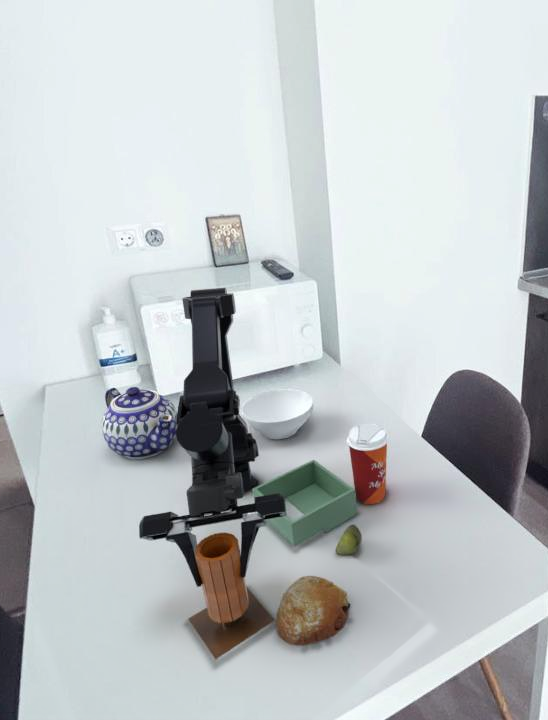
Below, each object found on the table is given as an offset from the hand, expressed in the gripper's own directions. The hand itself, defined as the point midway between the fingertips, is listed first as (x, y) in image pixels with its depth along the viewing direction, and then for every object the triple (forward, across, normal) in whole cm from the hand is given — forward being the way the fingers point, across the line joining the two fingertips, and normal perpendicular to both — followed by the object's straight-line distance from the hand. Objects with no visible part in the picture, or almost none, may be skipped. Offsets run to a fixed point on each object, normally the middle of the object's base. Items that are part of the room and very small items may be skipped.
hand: (221, 582), depth 73 cm
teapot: (-32, -20, +46) cm, 60 cm away
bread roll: (+8, +12, +6) cm, 15 cm away
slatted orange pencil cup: (+3, 0, +5) cm, 6 cm away
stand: (+6, 0, +8) cm, 10 cm away
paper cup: (-11, +25, +24) cm, 37 cm away
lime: (-1, +18, +15) cm, 24 cm away
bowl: (-31, +9, +45) cm, 56 cm away
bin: (-9, +12, +23) cm, 28 cm away
